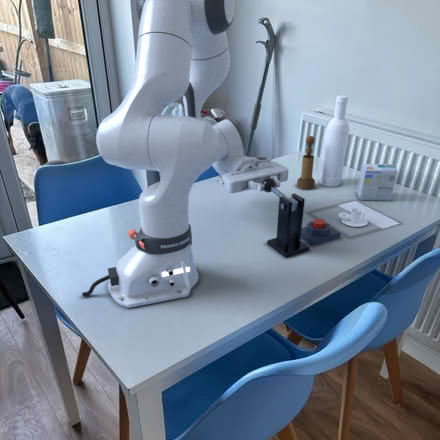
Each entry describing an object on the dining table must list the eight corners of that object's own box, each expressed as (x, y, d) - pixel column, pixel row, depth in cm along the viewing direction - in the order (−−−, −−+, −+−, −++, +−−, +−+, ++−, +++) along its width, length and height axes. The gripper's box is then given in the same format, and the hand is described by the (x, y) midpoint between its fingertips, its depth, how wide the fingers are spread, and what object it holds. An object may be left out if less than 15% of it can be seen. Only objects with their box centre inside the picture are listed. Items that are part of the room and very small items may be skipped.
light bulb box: (387, 193, 150) (394, 163, 144) (391, 201, 144) (398, 170, 138) (356, 192, 151) (361, 162, 145) (359, 200, 145) (365, 169, 139)
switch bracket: (266, 244, 121) (269, 195, 113) (289, 237, 124) (293, 189, 116) (285, 258, 115) (289, 207, 106) (309, 250, 118) (315, 200, 109)
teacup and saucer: (334, 219, 134) (335, 207, 131) (353, 213, 137) (355, 202, 134) (353, 230, 127) (355, 217, 125) (373, 224, 130) (375, 212, 128)
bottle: (339, 187, 155) (353, 99, 138) (318, 185, 157) (329, 98, 140) (341, 180, 161) (355, 94, 144) (320, 178, 163) (331, 93, 146)
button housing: (312, 246, 120) (314, 235, 118) (295, 234, 126) (296, 224, 124) (339, 237, 124) (341, 227, 122) (321, 227, 129) (323, 216, 127)
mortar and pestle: (293, 184, 158) (298, 134, 148) (309, 182, 160) (314, 132, 150) (301, 190, 153) (306, 139, 143) (317, 188, 155) (324, 137, 144)
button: (317, 230, 121) (318, 225, 120) (309, 225, 123) (310, 220, 122) (327, 227, 122) (328, 222, 121) (319, 223, 125) (320, 217, 124)
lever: (257, 189, 121) (259, 176, 118) (269, 186, 122) (271, 174, 119) (287, 215, 112) (289, 201, 109) (299, 211, 113) (302, 198, 110)
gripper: (214, 168, 122) (238, 182, 112) (272, 156, 130) (300, 169, 120) (214, 189, 126) (238, 205, 116) (271, 176, 134) (298, 190, 124)
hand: (270, 186), depth 118 cm, fingers closed on lever, 4 cm apart
